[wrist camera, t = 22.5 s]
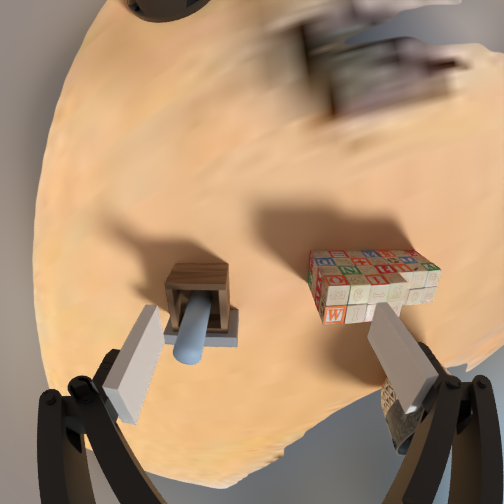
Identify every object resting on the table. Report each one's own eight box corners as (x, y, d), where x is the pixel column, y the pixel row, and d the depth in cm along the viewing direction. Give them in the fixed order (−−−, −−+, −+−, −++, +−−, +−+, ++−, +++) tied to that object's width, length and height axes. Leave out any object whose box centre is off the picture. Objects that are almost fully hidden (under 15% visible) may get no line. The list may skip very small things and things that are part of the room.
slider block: (175, 263, 45) (164, 283, 39) (228, 264, 45) (225, 284, 39) (181, 308, 49) (173, 331, 42) (230, 309, 49) (227, 333, 42)
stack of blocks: (415, 249, 45) (452, 278, 34) (409, 278, 47) (441, 312, 36) (309, 250, 45) (328, 286, 34) (306, 283, 47) (322, 326, 36)
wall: (173, 308, 49) (162, 334, 41) (238, 309, 49) (237, 337, 41) (175, 316, 49) (165, 344, 42) (238, 318, 50) (237, 347, 42)
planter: (423, 326, 52) (470, 389, 32) (440, 362, 58) (474, 415, 38) (356, 375, 57) (384, 447, 37) (384, 402, 62) (408, 460, 42)
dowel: (189, 286, 44) (170, 343, 31) (211, 287, 44) (199, 344, 31) (192, 305, 45) (175, 363, 32) (213, 305, 45) (203, 365, 32)
